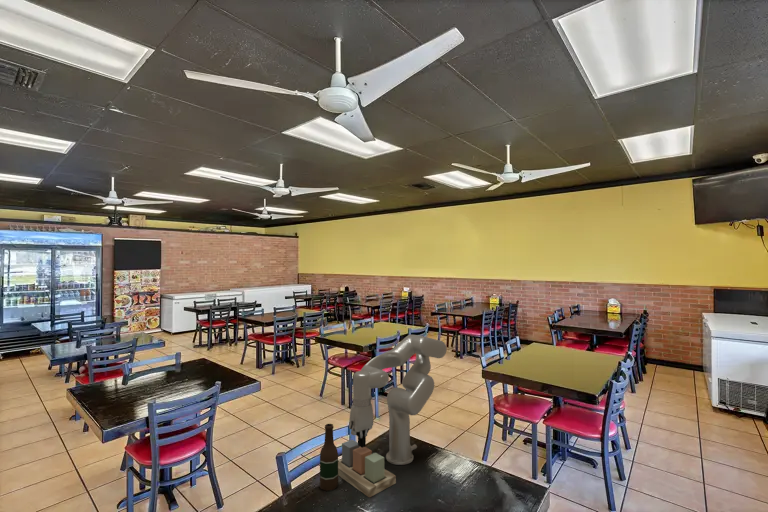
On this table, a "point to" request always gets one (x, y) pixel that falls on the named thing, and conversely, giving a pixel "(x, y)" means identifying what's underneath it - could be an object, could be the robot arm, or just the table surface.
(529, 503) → the table surface
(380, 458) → the sage key
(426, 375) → the robot arm
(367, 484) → the birch board
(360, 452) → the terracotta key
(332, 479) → the beer bottle
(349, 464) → the slate key
